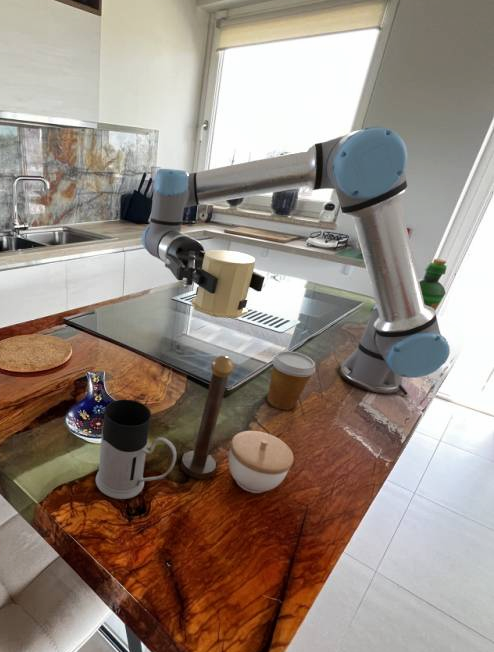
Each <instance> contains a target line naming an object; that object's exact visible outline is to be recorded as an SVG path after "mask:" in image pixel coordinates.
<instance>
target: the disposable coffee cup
mask: <svg viewBox="0 0 494 652" xmlns="http://www.w3.org/2000/svg"><path fill="white" fill-rule="evenodd" d="M315 372H316V363H315V361H314V360H313V359H312V358H311V357H309V356H307V355H306V354H303V353H300V352H296V351H291V350H282V351H279V352H277V353H276V355H275V356H273V358H272V370H271V376H270V382H269V388H268V394H267V399H266V400H267V403H269V405H271V406H273V407H274V408H277V409H279V410H288V411H289V410H292V409H293V408H294V407H295V405H296V403H297V402H298V399H300V396H301V394H302V393H303V390H304V389H305V387H306V385H307V384H308V382H309V380H310V378H311V377H312V375H313V374H314V373H315Z"/></svg>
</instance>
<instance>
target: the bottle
mask: <svg viewBox="0 0 494 652" xmlns="http://www.w3.org/2000/svg"><path fill="white" fill-rule="evenodd" d="M446 263H447V260H444V259H439V258H434V259H433V260H432V262H429V263H428V264H427V266H426V267H425V269H424V271H425V273H424V276H423V278H419V283H420V287H421V291H422V296H423V300H424V304H425V305H427V306H430V307H432V308H434V310H435V312H436V310H437V309H438V308H439V305H440V304H441V302H442V301H443V299H444V297H445V295H446V294H447V293H446V290H445V289H446V288H445V287H444V285H442V283H441V282H439V281H440V279H441V277H442V276H443V275H446V272H447V268H448V266H447V265H446Z"/></svg>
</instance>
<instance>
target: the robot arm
mask: <svg viewBox="0 0 494 652" xmlns="http://www.w3.org/2000/svg"><path fill="white" fill-rule="evenodd" d="M407 163H408V149H407V146H406V143H405V141H404V140H403V137H401V136H400V135H399V134H398V133H397V132H396V131H394V130H391V129H389V128H387V127H383V126H370V127H364V128H362V129H358V130H353V131H350V132H347V133H346V134H343V135H340V136H338V137H334V138H332V139H329V140H325V141H320V142H317V143H313V144H310V146H309V148H308V149H307V150H302V151H297V152H292V153H287V154H282V155H277V156H272V157H266V158H261V159H256V160H251V161H246V162H240V163H236V164H231V165H226V166H220V167H217V168H216V167H215V168H211V169H207V170H201V171H197V172H191V173H188V171H185V170H182V169H174V168H159V169H158V170H156V172H155V178H154V183H153V186H152V187H153V191H152V192H153V193H152V203H151V213H150V220H149V224H148V225H146V227H145V228H144V230H143V232H142V234H141V243H142V246H143V248H144V249H145V251H147V252H148V254H150V255H151V257H154V258H156V259H158V260H160V261H161V262H163V263H164V267H165V268H167V269H169V270H170V272H171V273H172V275H173V277H174V278H175V279H176V280H177V281H179V282H180V281H184V279H186V282H185V284H186V285H187V286H193V283H194V284H196V285H197V286H201V287H202V288H204V289H205V290H207V291H208V292H210V293H211V294H213V293H215V291H216V286H217V282H218V278H216V277H215V276H213V275H211V274H210V273H208V272H206V271H204V270H203V269H202V265H203V259H204V254H205V252H206V250H205V249H204V246H203V244H202V243H201V242H200V241H199V240H197V239H195V238H193V237H191V236H189V235H187V234H186V233H183V232H181V231H182V224H183V219H184V214H185V213H184V212H185V208H190V207H195V206H199V205H205V204H206V205H207V204H211V203H218V202H223V201H224V202H225V201H229V200H236V199H242V198H247V197H254V196H259V195H260V196H261V195H267V194H271V193H278V192H283V191H290V190H296V189H301V188H307V189H309V190H310V191H316V190H327V189H332V190H335V192H336V196H337V200H338V203H339V207H340V211H341V213H342V215H344V216H347V217H349V218H351V219H352V222H353V225H354V228H355V233H356V237H357V239H358V244H359V247H360V251H361V254H362V257H363V262H364V266H365V269H366V272H367V276H368V280H369V283H370V288H371V291H372V294H373V298H374V301H375V305H374V307H373V308H372V312H371V313H370V317H369V318H368V321H367V324H366V326H365V328H364V331H363V333H362V335H361V338H360V340H359V343H358V345H357V347H356V348H355V350H354V351H353V352H352V353H351V354H350V355H349V356H348V357H347V359H346V360H345V361H343V363H342V364H341V366H340V369H339V374H340V376H341V377H342V379H344V380H345V381H346V382H347V383H349V384H351V385H352V386H355V387H357V388H359V389H361V390H365V391H368V392H371V393H376V394H383V395H384V394H385V395H387V394H388V395H389V394H395V393H397V392H399V390H400V391H401V393H402V394H403V395H404V396H407V395H409V393H408V391H407V390H406V389H405V388H404V387H403V378H406V379H407V378H408V379H416V378H421V377H425V376H429V375H431V374H434V373H435V372H437V371H438V370H440V368H441V367H442V366H443V365H445V364H446V362H447V361H448V359H449V356H450V353H451V350H450V349H451V348H450V345H449V341H448V340H447V339H446V337H445V336H443V334H441V330H440V327H439V322H438V317H437V312H436V311H435V310H434V308H432V307H430V306H427V305H425V304H424V300H423V296H422V291H421V287H420V283H419V279H420V278H419V274H418V270H417V266H416V261H415V257H414V256H415V255H414V252H413V248H412V243H411V238H410V235H409V231H408V227H407V222H406V218H405V212H404V209H403V205H402V201H401V200H402V198H403V196H404V194H405V192H406V191H407V190H408V187H409V186H408V183H407V178H406V173H405V170H406V167H407ZM264 282H265V276H263V275H262V274H260V273H258V272H255V271H254V270H253V273H252V277H251V281H250V285H249V289H250V288H251V289H252V290H254V291H256V292H262V290H263V286H264Z"/></svg>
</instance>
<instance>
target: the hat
mask: <svg viewBox="0 0 494 652" xmlns="http://www.w3.org/2000/svg"><path fill="white" fill-rule="evenodd" d="M255 263H256V259H255V258H254V257H253V256H251V255H249V254H246V253H243V252H239V251H234V250H224V249H211V250H205V254H204V259H203V265H202V269H203V270H204V271H206V272H208V273H210V274H211V275H213V276H215V277H216V278H218V282H217V286H216V291H215V293H213V294H211V293H210V292H208V291H207V290H205V289H204V288H202V287H201V286H199V285H197V287H196V291H195V296H196V297H194V298H192V299H191V300H190V304H191V305H192V308H193V309H194V311H197V312H200V313H202V314H204V315H208V316H209V317H213V318H221V319H223V318H224V319H238V318H241V317H243V316H245V315H247V314H248V311H249V309H248V308H247V304H248V298H247V296H248V293H249V289H250V287H249V285H250V281H251V277H252V273H253V271H254V270H255Z"/></svg>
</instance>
